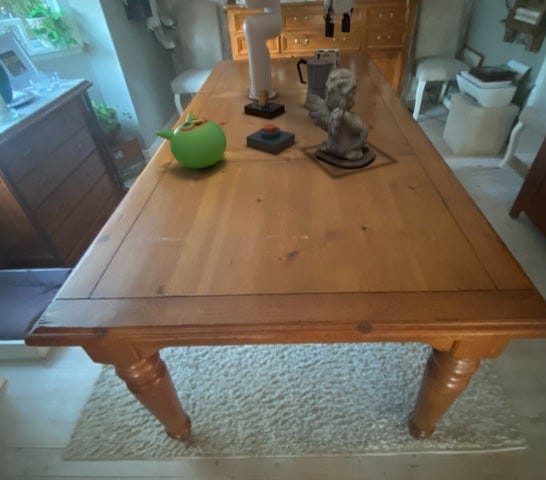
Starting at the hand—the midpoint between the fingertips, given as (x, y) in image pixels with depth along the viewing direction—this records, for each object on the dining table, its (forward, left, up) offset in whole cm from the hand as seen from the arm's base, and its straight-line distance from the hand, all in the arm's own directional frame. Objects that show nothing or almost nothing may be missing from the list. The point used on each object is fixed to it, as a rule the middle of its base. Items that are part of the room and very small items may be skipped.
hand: (337, 34), depth 119 cm
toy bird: (-17, -56, -29) cm, 65 cm away
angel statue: (+20, -26, -29) cm, 44 cm away
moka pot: (-15, +9, -29) cm, 33 cm away
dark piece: (-7, -32, -28) cm, 43 cm away
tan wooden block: (-29, -8, -25) cm, 39 cm away
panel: (-29, -8, -28) cm, 41 cm away
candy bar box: (-24, +34, -29) cm, 50 cm away
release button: (-7, -32, -24) cm, 40 cm away
